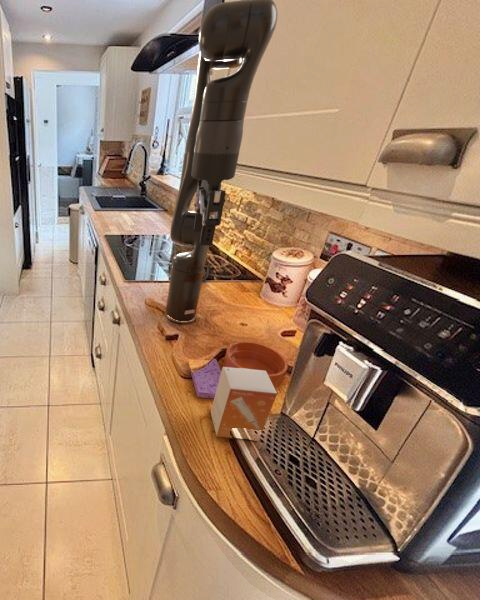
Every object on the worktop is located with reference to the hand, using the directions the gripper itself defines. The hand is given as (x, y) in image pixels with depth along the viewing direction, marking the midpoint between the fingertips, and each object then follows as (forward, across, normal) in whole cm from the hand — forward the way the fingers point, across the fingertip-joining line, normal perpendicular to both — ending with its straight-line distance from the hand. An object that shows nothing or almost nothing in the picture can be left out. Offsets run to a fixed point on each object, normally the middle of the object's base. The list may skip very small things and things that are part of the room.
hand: (202, 237), depth 66 cm
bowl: (+35, +1, -17) cm, 39 cm away
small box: (+34, -17, -9) cm, 39 cm away
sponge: (+35, -4, -6) cm, 35 cm away
